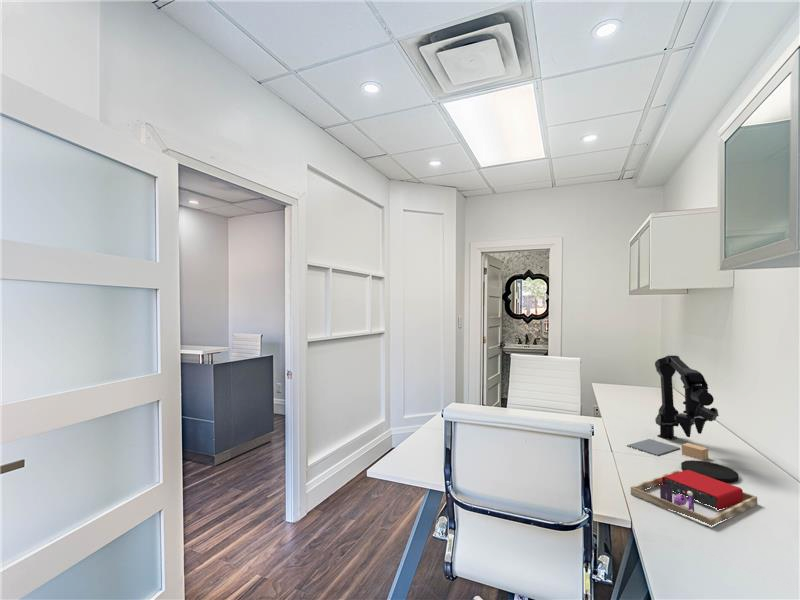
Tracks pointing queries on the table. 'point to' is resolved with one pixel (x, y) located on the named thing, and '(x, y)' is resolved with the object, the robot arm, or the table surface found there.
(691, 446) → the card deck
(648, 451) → the mat
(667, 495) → the game card
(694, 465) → the wireless charger
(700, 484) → the red device housing
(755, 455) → the table surface
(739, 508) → the organizer frame
